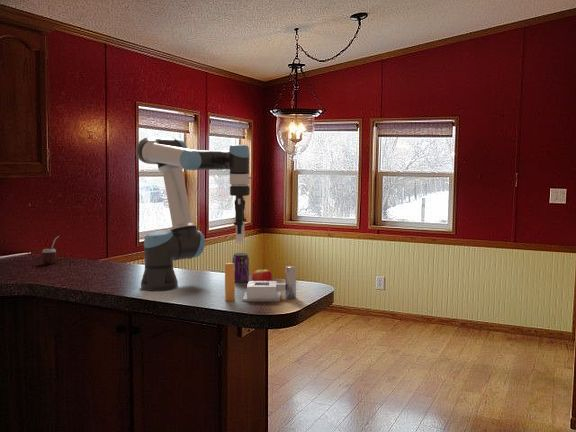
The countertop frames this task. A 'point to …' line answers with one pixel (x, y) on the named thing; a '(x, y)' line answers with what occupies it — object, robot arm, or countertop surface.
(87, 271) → the countertop surface
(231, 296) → the orange rectangular block
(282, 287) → the white block with post
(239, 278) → the beverage can
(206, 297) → the countertop surface
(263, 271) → the apple
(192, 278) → the countertop surface
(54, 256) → the mate gourd
